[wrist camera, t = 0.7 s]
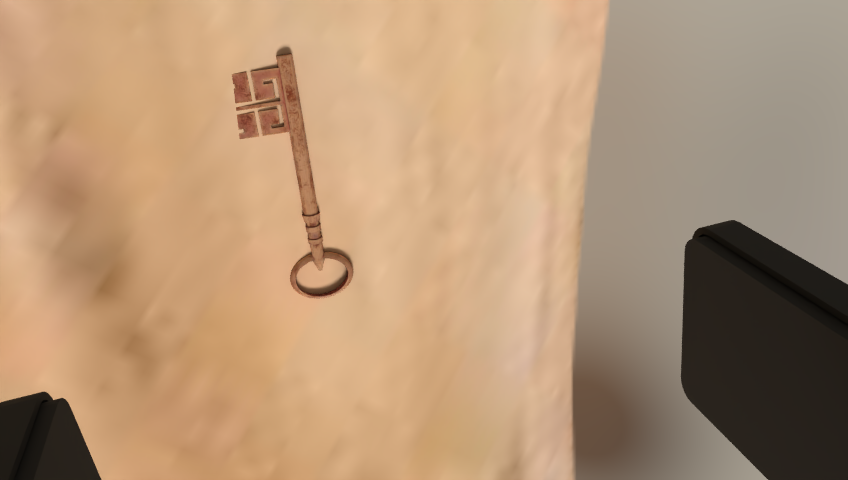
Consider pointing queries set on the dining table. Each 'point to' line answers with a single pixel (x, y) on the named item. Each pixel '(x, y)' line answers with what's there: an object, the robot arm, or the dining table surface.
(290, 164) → the dining table surface
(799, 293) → the robot arm
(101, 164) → the dining table surface
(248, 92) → the key
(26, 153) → the dining table surface
